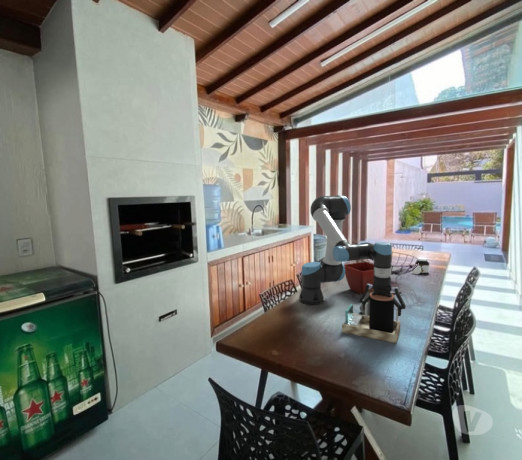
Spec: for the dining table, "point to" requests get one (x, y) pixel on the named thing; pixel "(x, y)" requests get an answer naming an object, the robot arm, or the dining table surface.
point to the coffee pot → (369, 301)
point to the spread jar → (421, 266)
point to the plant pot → (359, 276)
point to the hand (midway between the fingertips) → (381, 319)
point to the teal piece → (352, 317)
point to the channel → (372, 331)
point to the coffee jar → (381, 313)
